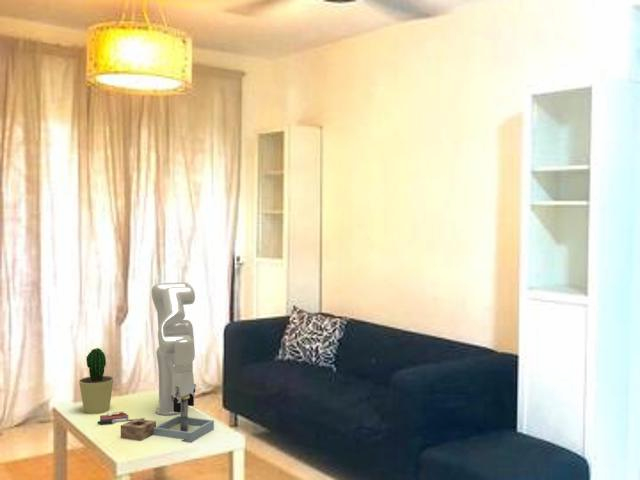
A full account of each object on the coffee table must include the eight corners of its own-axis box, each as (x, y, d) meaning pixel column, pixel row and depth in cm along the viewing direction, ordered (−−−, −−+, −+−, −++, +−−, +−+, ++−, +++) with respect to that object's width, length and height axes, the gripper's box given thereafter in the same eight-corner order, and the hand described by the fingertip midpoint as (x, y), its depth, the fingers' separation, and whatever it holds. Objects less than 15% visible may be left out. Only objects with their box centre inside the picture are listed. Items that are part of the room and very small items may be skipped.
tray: (178, 424, 288) (178, 415, 288) (213, 429, 281) (213, 420, 281) (153, 437, 271) (153, 427, 271) (190, 442, 264) (190, 433, 264)
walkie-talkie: (97, 427, 285) (145, 423, 292) (97, 417, 285) (145, 413, 292) (97, 421, 293) (143, 417, 300) (97, 412, 293) (143, 407, 300)
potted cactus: (100, 404, 320) (99, 342, 319) (120, 409, 311) (120, 346, 310) (72, 411, 308) (71, 347, 307) (92, 417, 299) (91, 351, 298)
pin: (182, 429, 279) (182, 393, 279) (191, 430, 277) (191, 394, 277) (176, 432, 275) (176, 396, 275) (185, 433, 273) (185, 397, 273)
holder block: (136, 432, 277) (136, 418, 277) (156, 435, 273) (156, 421, 273) (120, 440, 268) (120, 425, 267) (141, 443, 264) (140, 428, 264)
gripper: (187, 363, 285) (187, 402, 285) (163, 371, 269) (164, 413, 269) (202, 364, 282) (202, 404, 283) (179, 373, 266) (179, 415, 266)
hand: (183, 408), depth 276 cm, fingers open, 9 cm apart
